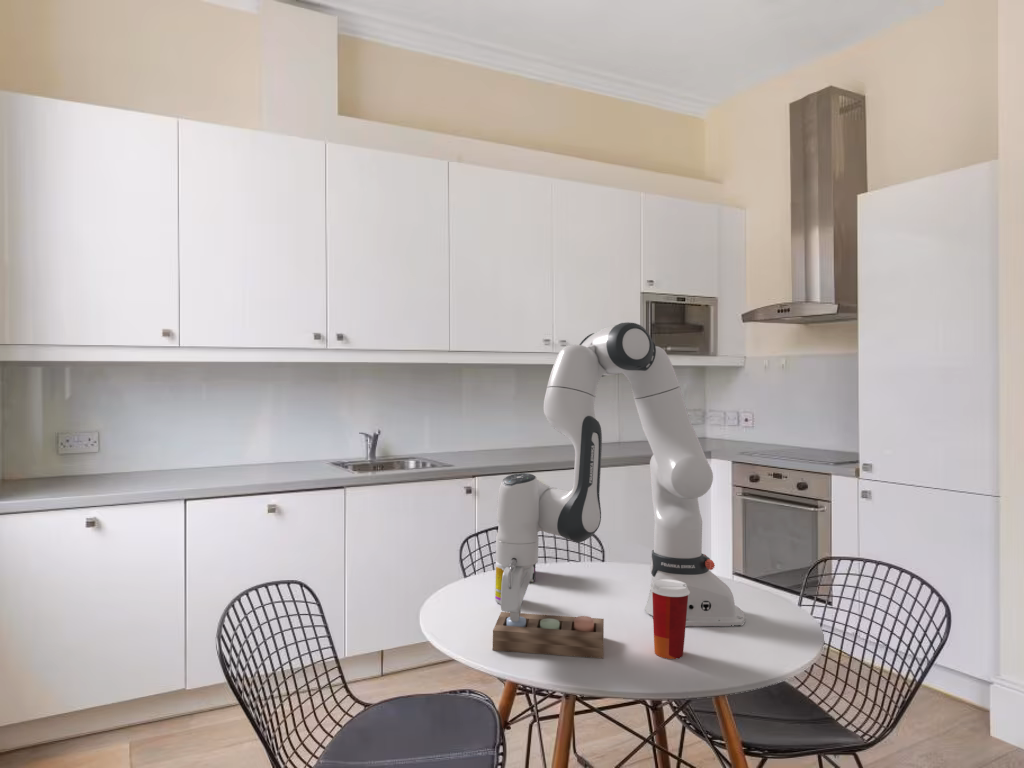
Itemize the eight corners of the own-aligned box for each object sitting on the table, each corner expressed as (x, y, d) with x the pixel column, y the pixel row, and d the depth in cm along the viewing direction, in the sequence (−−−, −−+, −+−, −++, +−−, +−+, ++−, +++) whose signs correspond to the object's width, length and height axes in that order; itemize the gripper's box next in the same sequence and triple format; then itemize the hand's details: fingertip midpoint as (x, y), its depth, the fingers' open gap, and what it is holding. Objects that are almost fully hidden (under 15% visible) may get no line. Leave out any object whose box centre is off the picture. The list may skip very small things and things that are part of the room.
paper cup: (687, 648, 141) (689, 580, 141) (688, 663, 134) (690, 591, 133) (649, 644, 143) (650, 577, 143) (647, 658, 135) (649, 588, 135)
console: (603, 637, 146) (603, 618, 146) (603, 658, 135) (603, 638, 135) (500, 630, 149) (501, 611, 149) (492, 650, 138) (492, 630, 138)
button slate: (526, 628, 145) (526, 616, 145) (524, 635, 141) (524, 623, 141) (507, 627, 145) (508, 615, 145) (505, 634, 141) (505, 622, 141)
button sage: (559, 631, 144) (560, 619, 144) (558, 638, 140) (558, 626, 140) (540, 629, 144) (541, 617, 144) (539, 636, 140) (539, 624, 140)
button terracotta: (593, 628, 143) (594, 616, 143) (593, 635, 139) (593, 623, 139) (574, 627, 143) (574, 615, 143) (573, 634, 139) (573, 622, 139)
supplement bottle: (521, 606, 164) (523, 553, 164) (494, 605, 165) (495, 552, 164) (522, 597, 171) (523, 546, 171) (495, 596, 171) (496, 545, 171)
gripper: (526, 567, 132) (524, 639, 132) (537, 542, 152) (535, 604, 152) (493, 565, 133) (492, 636, 133) (508, 540, 153) (507, 602, 153)
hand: (515, 619), depth 143 cm, fingers closed, pressing on button slate
